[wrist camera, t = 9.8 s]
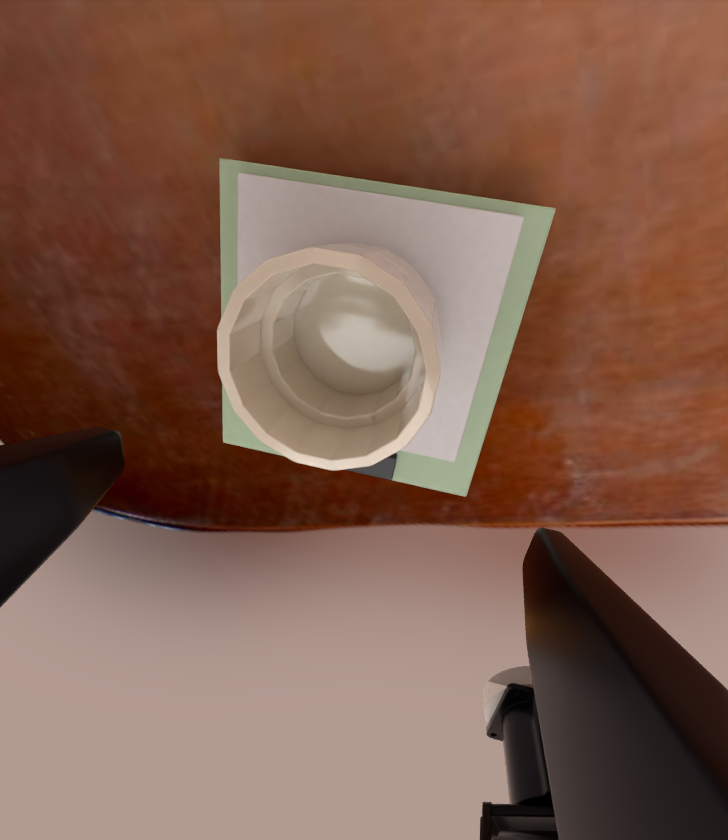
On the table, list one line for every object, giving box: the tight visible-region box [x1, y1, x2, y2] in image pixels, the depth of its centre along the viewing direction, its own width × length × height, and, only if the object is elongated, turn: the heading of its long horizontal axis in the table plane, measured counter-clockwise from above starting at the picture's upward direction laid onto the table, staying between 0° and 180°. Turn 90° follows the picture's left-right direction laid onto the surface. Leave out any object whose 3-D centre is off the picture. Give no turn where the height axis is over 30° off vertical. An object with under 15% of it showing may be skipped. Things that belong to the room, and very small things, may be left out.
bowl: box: [217, 242, 442, 471], centre depth 14 cm, size 6×6×5 cm
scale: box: [219, 158, 556, 497], centre depth 18 cm, size 12×12×3 cm
